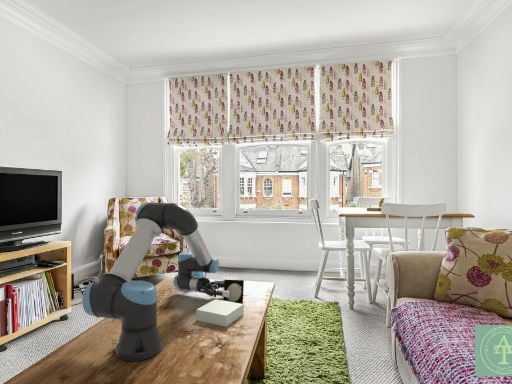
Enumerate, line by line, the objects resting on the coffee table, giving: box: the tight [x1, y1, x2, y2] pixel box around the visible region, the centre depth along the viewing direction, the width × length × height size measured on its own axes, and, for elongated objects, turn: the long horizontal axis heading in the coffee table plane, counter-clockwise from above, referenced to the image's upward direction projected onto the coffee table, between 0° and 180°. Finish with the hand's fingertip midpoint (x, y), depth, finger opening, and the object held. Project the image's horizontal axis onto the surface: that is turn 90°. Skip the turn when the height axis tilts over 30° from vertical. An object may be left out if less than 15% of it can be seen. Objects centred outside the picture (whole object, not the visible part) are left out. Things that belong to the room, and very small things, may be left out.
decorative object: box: [222, 279, 245, 304], centre depth 164 cm, size 12×10×10 cm
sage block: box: [196, 298, 245, 327], centre depth 146 cm, size 15×15×5 cm
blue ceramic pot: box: [192, 272, 208, 278], centre depth 194 cm, size 13×14×11 cm
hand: (236, 290), depth 164 cm, fingers open, 13 cm apart
